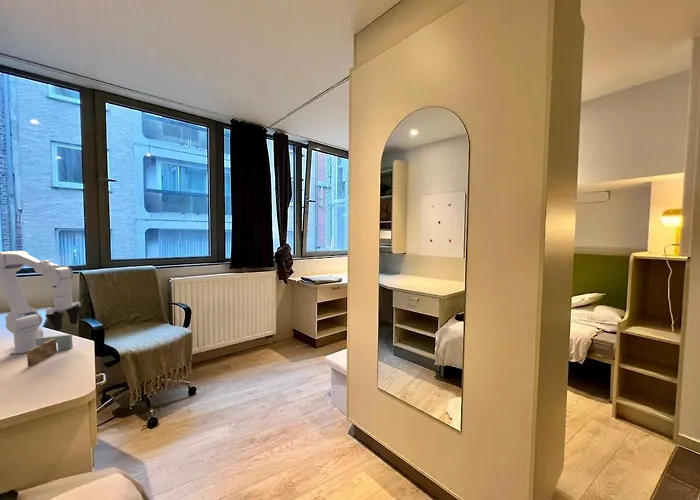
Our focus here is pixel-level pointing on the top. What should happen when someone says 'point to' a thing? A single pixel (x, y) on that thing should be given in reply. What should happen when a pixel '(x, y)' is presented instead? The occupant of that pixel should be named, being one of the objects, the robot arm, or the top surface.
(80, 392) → the top surface
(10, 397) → the top surface
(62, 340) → the pale green bar
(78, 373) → the top surface
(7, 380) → the top surface
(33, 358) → the walnut plate
